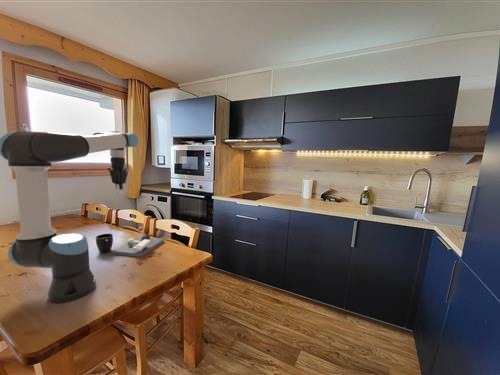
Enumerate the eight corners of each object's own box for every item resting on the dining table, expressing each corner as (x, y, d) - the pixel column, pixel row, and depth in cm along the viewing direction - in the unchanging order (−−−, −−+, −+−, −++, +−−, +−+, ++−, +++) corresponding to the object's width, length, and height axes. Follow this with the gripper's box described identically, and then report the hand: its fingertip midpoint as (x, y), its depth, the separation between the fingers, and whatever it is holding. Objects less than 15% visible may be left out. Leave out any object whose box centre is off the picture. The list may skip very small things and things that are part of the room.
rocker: (140, 251, 117) (139, 248, 117) (133, 250, 118) (132, 247, 118) (151, 242, 127) (150, 239, 127) (144, 241, 128) (144, 238, 127)
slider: (138, 247, 125) (138, 242, 125) (132, 246, 126) (132, 241, 125) (141, 245, 127) (140, 240, 127) (135, 244, 128) (135, 240, 128)
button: (132, 244, 128) (132, 241, 128) (125, 244, 129) (125, 240, 128) (137, 242, 132) (136, 238, 132) (130, 241, 133) (130, 237, 133)
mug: (98, 257, 115) (97, 241, 114) (95, 250, 124) (94, 235, 123) (116, 253, 121) (115, 238, 119) (112, 247, 129) (111, 232, 128)
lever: (146, 238, 135) (140, 226, 134) (142, 240, 135) (137, 227, 135) (148, 237, 137) (143, 225, 137) (145, 238, 138) (140, 226, 138)
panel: (141, 257, 117) (140, 248, 116) (112, 254, 120) (112, 246, 119) (163, 241, 140) (163, 234, 139) (139, 239, 142) (139, 232, 142)
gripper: (131, 157, 132) (133, 194, 135) (113, 156, 134) (115, 193, 137) (122, 157, 124) (124, 195, 127) (103, 156, 126) (105, 194, 129)
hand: (119, 194), depth 132 cm, fingers closed
